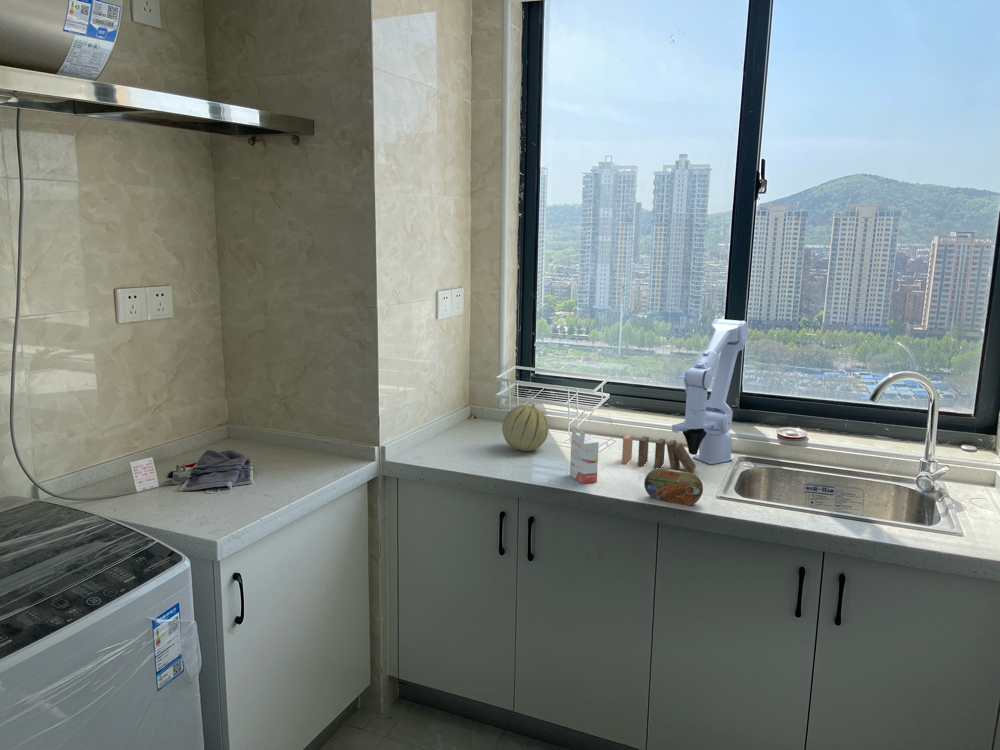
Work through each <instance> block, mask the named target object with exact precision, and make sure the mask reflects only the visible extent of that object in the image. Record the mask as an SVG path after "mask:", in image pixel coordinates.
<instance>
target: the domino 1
mask: <svg viewBox="0 0 1000 750" xmlns="http://www.w3.org/2000/svg"><path fill="white" fill-rule="evenodd" d="M633 436H634V434H631V433H627V434H626V435H624V437H623V438H622V454H621V464H624V463H625V465H628V464H629V463H630V462H631V461H632V460H631V459H632V457H633V441H634V439H633V438H634V437H633ZM630 460H631V461H630ZM629 461H630V462H629ZM628 462H629V463H628ZM627 463H628V464H627Z"/></svg>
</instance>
